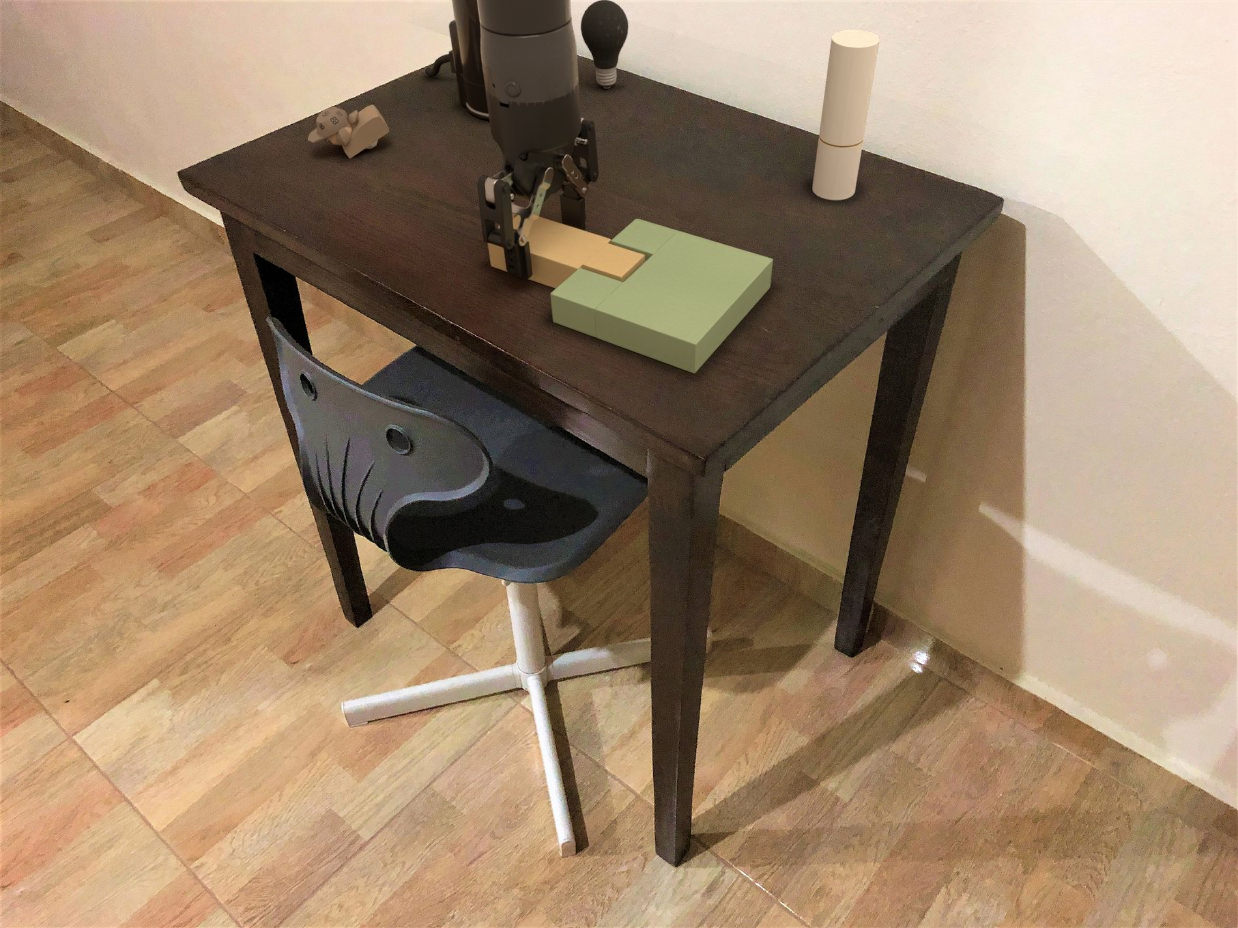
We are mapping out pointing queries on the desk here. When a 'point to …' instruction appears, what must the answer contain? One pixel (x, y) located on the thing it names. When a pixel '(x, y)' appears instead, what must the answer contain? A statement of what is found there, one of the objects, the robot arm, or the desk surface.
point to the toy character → (350, 129)
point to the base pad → (666, 296)
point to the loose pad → (570, 253)
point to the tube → (844, 112)
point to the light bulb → (604, 37)
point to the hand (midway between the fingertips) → (548, 253)
